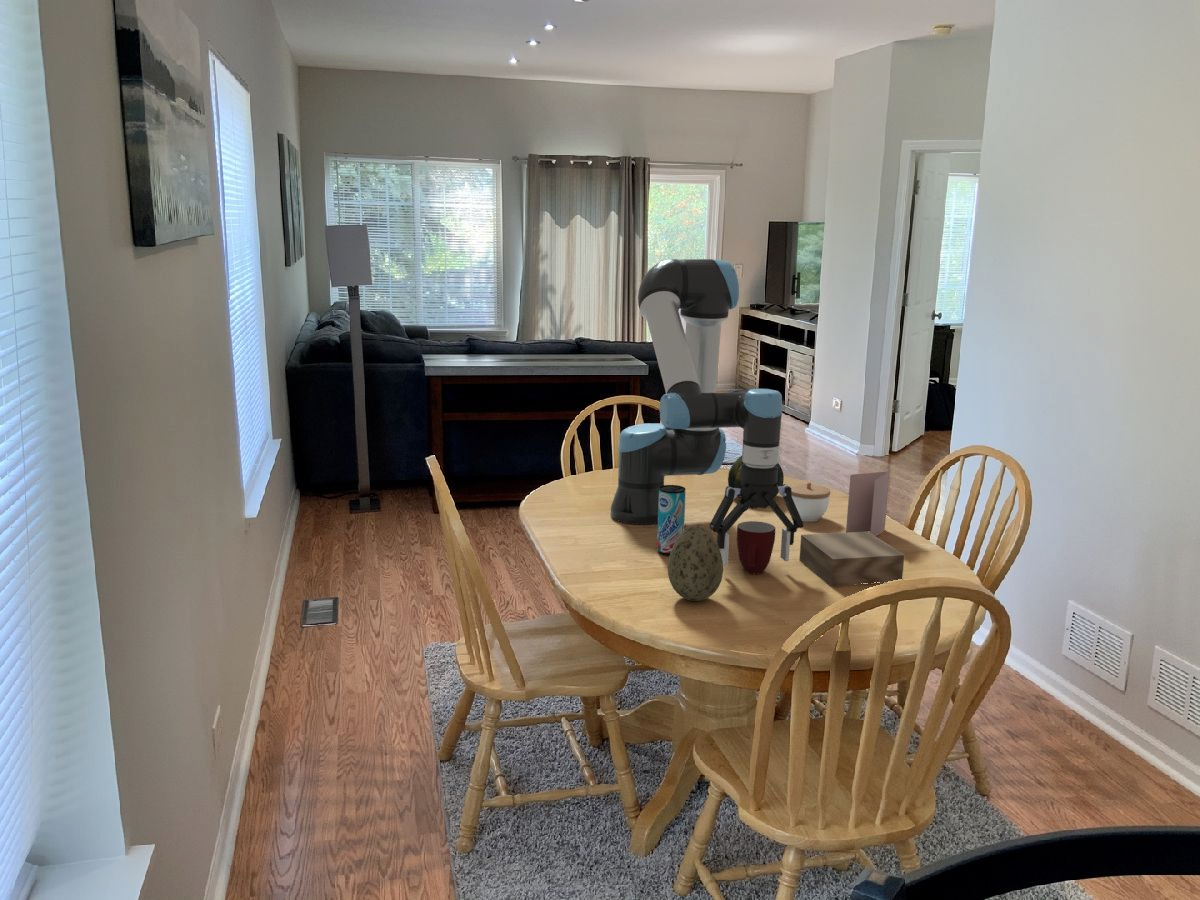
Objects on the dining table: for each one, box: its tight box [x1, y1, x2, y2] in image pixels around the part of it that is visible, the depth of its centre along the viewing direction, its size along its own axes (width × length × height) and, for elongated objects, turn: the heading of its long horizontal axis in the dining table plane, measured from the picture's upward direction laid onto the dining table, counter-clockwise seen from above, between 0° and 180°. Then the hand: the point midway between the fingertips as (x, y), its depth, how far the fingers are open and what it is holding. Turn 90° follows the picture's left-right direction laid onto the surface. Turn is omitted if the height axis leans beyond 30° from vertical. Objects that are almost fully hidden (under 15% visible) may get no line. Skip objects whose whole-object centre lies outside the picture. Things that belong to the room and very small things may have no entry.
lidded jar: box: [788, 481, 831, 523], centre depth 237 cm, size 11×11×9 cm
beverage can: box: [656, 484, 686, 556], centre depth 209 cm, size 6×6×15 cm
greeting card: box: [845, 470, 891, 537], centre depth 224 cm, size 11×7×15 cm, turn 111°
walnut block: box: [798, 531, 905, 588], centre depth 200 cm, size 16×16×6 cm
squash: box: [727, 455, 785, 498], centre depth 256 cm, size 14×15×15 cm
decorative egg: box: [667, 525, 724, 602], centre depth 182 cm, size 11×11×15 cm
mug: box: [736, 520, 776, 575], centre depth 197 cm, size 10×8×10 cm
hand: (754, 561), depth 198 cm, fingers open, 13 cm apart
